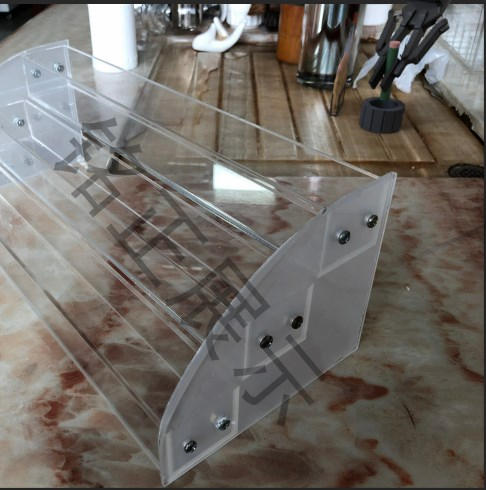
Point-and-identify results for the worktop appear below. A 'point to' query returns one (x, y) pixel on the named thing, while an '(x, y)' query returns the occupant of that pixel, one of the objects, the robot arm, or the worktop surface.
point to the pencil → (391, 57)
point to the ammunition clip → (339, 87)
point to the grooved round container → (381, 115)
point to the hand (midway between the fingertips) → (377, 87)
